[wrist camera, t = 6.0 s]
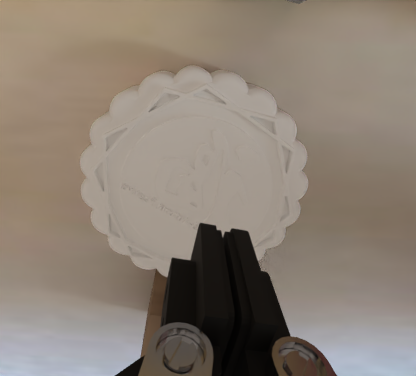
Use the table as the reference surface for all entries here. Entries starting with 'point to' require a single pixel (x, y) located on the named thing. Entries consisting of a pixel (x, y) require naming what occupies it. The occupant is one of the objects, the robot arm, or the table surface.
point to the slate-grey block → (297, 1)
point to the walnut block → (154, 310)
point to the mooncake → (192, 165)
